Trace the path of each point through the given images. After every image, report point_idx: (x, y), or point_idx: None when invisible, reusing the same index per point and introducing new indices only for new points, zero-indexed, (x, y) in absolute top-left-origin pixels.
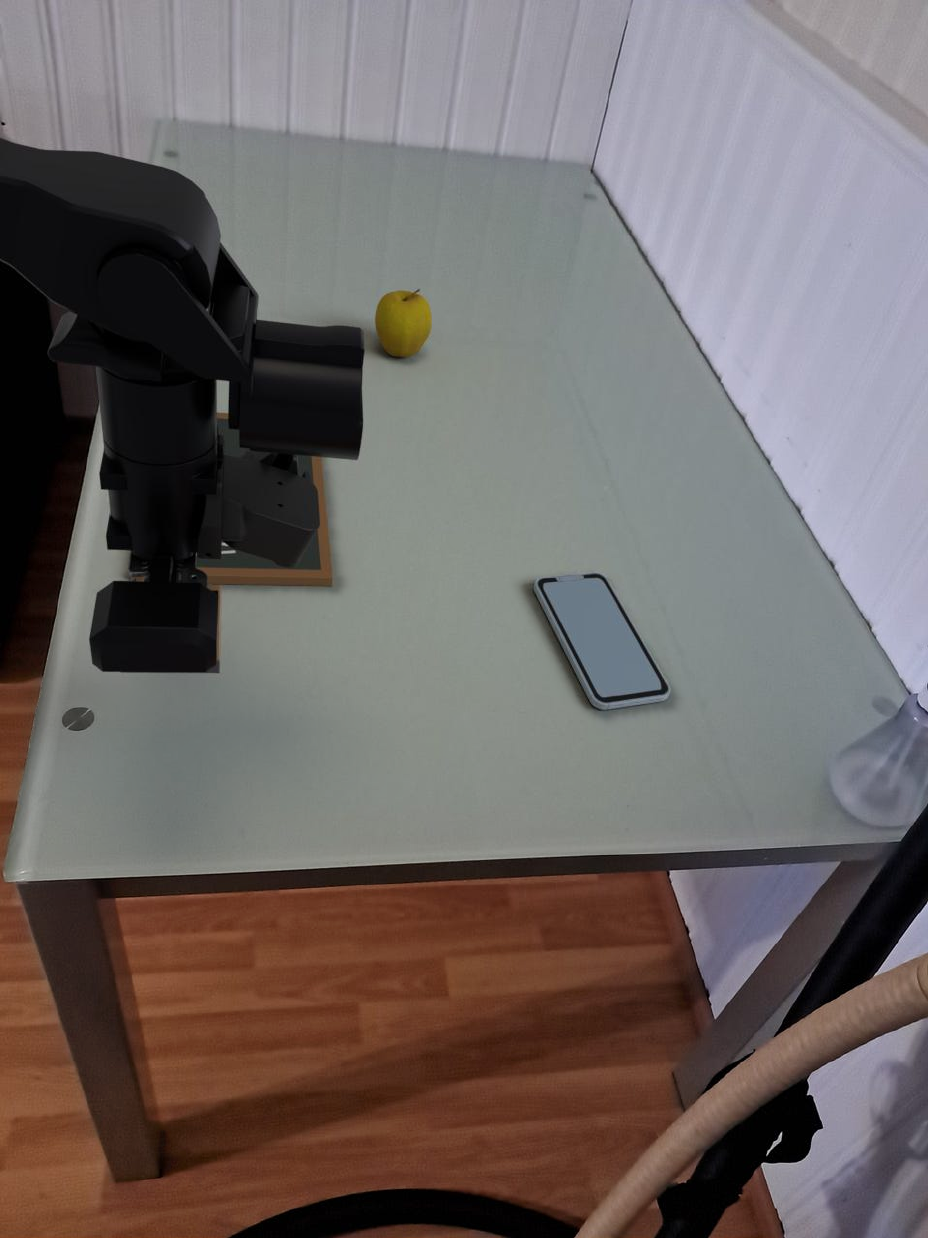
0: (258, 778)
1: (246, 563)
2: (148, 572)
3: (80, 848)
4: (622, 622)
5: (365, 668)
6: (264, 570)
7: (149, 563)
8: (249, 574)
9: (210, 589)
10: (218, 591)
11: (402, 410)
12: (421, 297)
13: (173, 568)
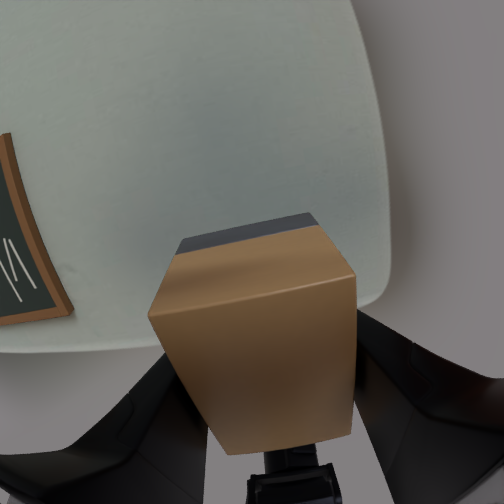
0: (283, 123)
1: (14, 224)
2: (201, 451)
3: (374, 266)
4: None
5: (99, 52)
6: (14, 204)
7: (195, 471)
8: (23, 217)
9: (180, 338)
10: (180, 318)
11: None
12: None
13: (177, 437)
